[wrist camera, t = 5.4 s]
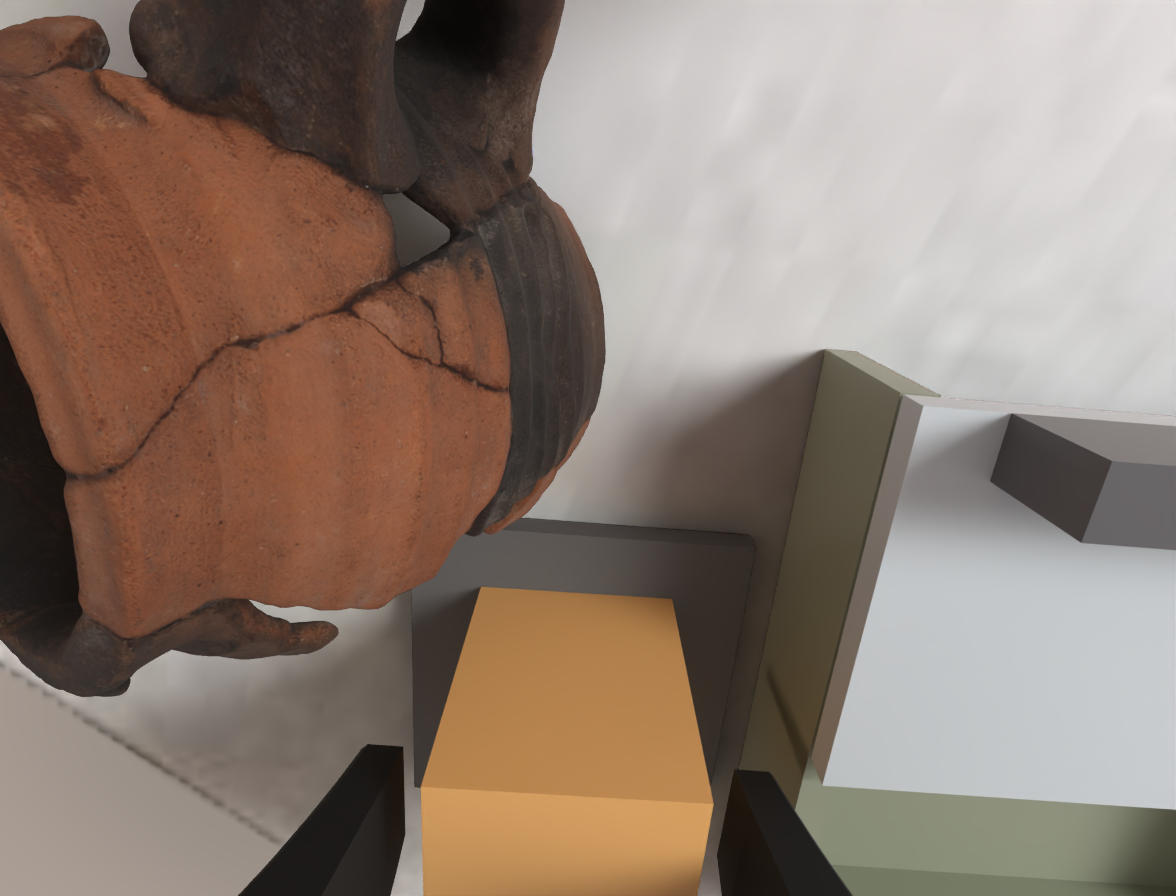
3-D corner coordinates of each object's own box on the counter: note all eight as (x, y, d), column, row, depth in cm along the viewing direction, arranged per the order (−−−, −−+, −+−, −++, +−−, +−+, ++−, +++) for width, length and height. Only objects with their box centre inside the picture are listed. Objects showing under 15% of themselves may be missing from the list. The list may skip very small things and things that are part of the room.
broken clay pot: (524, 596, 15) (139, 898, 8) (274, 350, 17) (-184, 430, 11) (885, 52, 8) (453, -563, 2) (409, -223, 11) (-543, -936, 4)
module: (652, 747, 15) (679, 994, 10) (478, 737, 15) (426, 980, 10) (672, 598, 14) (713, 804, 9) (481, 587, 13) (420, 786, 9)
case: (1184, 886, 17) (1311, 1030, 14) (720, 856, 17) (748, 995, 14) (1455, 400, 13) (1728, 458, 10) (825, 349, 12) (899, 392, 9)
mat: (703, 786, 16) (706, 807, 16) (420, 766, 16) (414, 786, 15) (748, 535, 14) (755, 548, 13) (418, 509, 14) (410, 523, 13)
